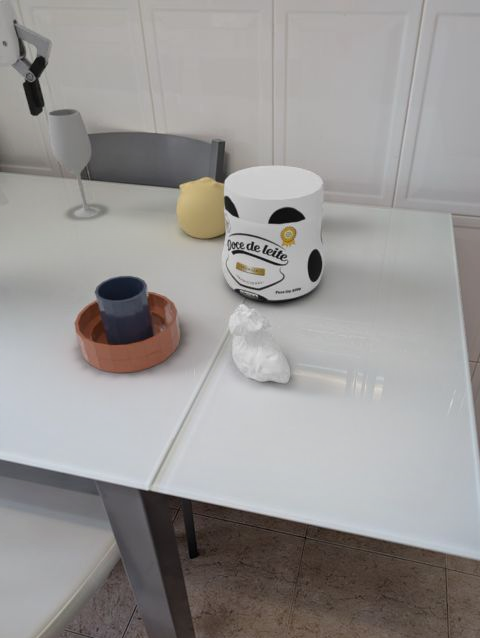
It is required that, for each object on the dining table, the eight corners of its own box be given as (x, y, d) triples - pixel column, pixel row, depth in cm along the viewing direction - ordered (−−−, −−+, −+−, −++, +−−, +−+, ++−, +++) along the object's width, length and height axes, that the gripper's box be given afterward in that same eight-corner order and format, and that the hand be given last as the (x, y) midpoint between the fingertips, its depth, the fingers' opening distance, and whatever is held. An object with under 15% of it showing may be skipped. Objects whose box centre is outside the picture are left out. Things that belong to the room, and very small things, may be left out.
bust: (238, 358, 74) (188, 322, 66) (273, 321, 73) (228, 280, 65) (278, 408, 65) (227, 374, 57) (318, 368, 65) (272, 327, 57)
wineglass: (62, 216, 110) (35, 113, 97) (89, 205, 115) (67, 106, 102) (84, 224, 106) (59, 119, 93) (111, 212, 111) (91, 111, 98)
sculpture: (240, 222, 107) (238, 171, 100) (227, 246, 98) (224, 193, 91) (189, 218, 109) (184, 168, 102) (171, 242, 99) (165, 189, 93)
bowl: (72, 378, 67) (63, 349, 64) (94, 319, 78) (87, 292, 75) (176, 373, 68) (172, 344, 65) (183, 316, 79) (180, 289, 76)
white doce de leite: (228, 316, 79) (222, 206, 68) (219, 264, 92) (212, 166, 81) (334, 306, 81) (345, 198, 70) (309, 257, 94) (315, 160, 83)
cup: (104, 356, 70) (90, 302, 64) (112, 328, 75) (100, 276, 69) (152, 354, 70) (143, 301, 64) (157, 327, 75) (149, 275, 70)
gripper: (-149, -51, 52) (-80, 122, 63) (18, -51, 53) (59, 120, 64) (-111, -49, 58) (-54, 108, 69) (38, -50, 59) (73, 106, 70)
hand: (0, 114), depth 66 cm, fingers open, 9 cm apart
